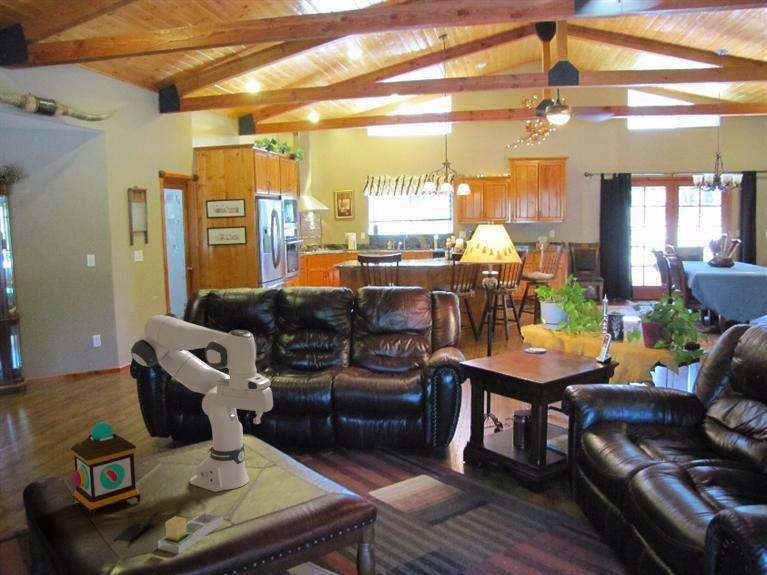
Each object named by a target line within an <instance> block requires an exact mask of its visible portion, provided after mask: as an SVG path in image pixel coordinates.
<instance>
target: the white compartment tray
mask: <svg viewBox="0 0 767 575" xmlns="http://www.w3.org/2000/svg"><path fill="white" fill-rule="evenodd" d="M223 523H224V515H221V514H217V513H213V512H208V511H202V512H201V513H199V514H197V515H196V516H194V517H193V518H191V519H190V520H188V521H186V531H187V537H186V538H185V539H183V540H182V541H180V542H179V543H175V542H170V541H166V535H164V536H163V537H161V538H160V539H159V540H158V541H157V549H158V550H162V551H164V552H169V553H174V554H177V555H179V554H182V552H184V551H185V550H186V549H189V548H190V547H191V546H192V545H193V544H195V543H197V542H199V540H201V539H202V538H204V537H206V535H208V534H209V533H211V532H213V531H214V530H215V529H216V528H218V527H219V526H221V525H222V524H223Z"/></svg>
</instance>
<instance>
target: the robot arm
mask: <svg viewBox="0 0 767 575" xmlns="http://www.w3.org/2000/svg"><path fill="white" fill-rule="evenodd" d="M143 329H144V330H143V331H144V333H143V334H142V335H141V336H140V338H139V339H138V340H137V341H135V342H134V343H133V345H132V347H131V350H130V355H131V356H132V357H133V359H134V361H135V362H136V363H138V364H139V365H141V366H143V367H146V368H147V367H149V368H151V367H153V366H154V365H156V364H157V363H158V364H159V365H160V367H162V369H163V370H164V371H166V372H167V374H169V375H170V376H171V377H172V378H174V379H175V380H176V381H178V382H179V383H181V384H182V385H183V386H185V387H186V388H187V389H189V390H190V391H192V392H195V393H201V394H203V395H204V396H203V398H202V401H201V408H202V410H203V412H204V414H205V415H207V417H208V419H209V422H210V426H211V430H212V446H211V447H210V448H209V449H207V453H209V456H208V457H207V458H205V459H204V460H203V461H201V463H200V464H198V465H197V468H196V474H195V475H194V476H192V477H191V479H190V480H189V483H190V485H193V486H197V487H200V488H202V489H205V490H208V491H210V492H215V493H217V492H221V491H226V490H228V491H229V490H234V489H237V488H240V487H243V486H245V485H247V483H249V481H250V479H249V476H248V472H247V467H246V463H245V456H246V455H245V444H244V440H243V439H244V436H243V432H244V431H243V424H242V423H241V421H239V418H238V414H237V409H238V410H243V411H245V410H246V411H251V412H254V411H255V415H256V417H254V418H253V424H254V425H259V424H261V418H262V416H263V414H264V413H267V412H269V411H271V410H272V409H273V407H274V399H273V398H274V397H273V391H272V388H270V386H271V383H272V382H271V380H270V379H269V378H267V377H266V376H263V375H261V374H260V373H258V372H257V371H258V370H257V366H256V360H257V351H258V349H257V348H258V346H257V343H256V341H255V338H254V335H253V333H252V332H250V331H248V330H245V329H234V330H231V331H229V332H225V331H222V330H219V329H213V328H210V327H205V326H201V325H197V324H194V323H191V322H188V321H185V320H183V319H181V318H180V317H179V315H176V314H174V313H171V312H167V313H165V314H163V315H162V314H155V315H152V316H151V317H149V318H148V319H147V320H146V322H145V323H144V328H143ZM204 348H205V350H204V351H205V353H204V355H205V359H206V362H207V363H206V362H204V361H203V360H201V359H200V358H199V357H197V356H196V355H195V354H193V353H192V352H190V351H192V350H197V349H204ZM225 368H227V369H228V374H227V373H225V372H222V371H219V370H217V369H225Z"/></svg>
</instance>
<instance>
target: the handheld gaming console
mask: <svg viewBox="0 0 767 575" xmlns="http://www.w3.org/2000/svg"><path fill="white" fill-rule="evenodd" d="M158 513H159V512H158V511H157V512H155V513H154V514H153V515H151V517H149V518H148V519H147V520H146V521H145V522H143V523H137V522H133V523H132V524H131V525H130V526H128V527H127V528H126V529H125V530H124V531H123V530H122V532H121V533H119V535H117V536H116V537H114V539H113V541H114V542H117V541H123V542H124V541H125V542H132V541H133V540H134V539H135V538H136V537H138V535H139V534H141V533H142V532H143V531H144V530H145V529H147V528H148V527H149V526H150V525H151V524H152V522H153V521H154V519H155V518H156V517H157V515H158Z"/></svg>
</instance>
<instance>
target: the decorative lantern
mask: <svg viewBox="0 0 767 575" xmlns="http://www.w3.org/2000/svg"><path fill="white" fill-rule="evenodd" d="M70 451H71V453H72V454H73V456H74V469H75V471H74V473H73V474H74V475H73V477H74V483H75V485H76V486H75V490H74V493H73V495H72V500H73V504H74V503H78V504H81V506H83V507H84V508H85V509H87V510H88V513H89V514H88V515H89V517H90V519H94V518H95V513H96V511H97V510H100V509H103V508H106V507H109V506H112V505H116V504H118V503H122V502H125V501H127V500H131V499H134V500H135V503H136V504H140V502H141V493H140V491H139V489H138V488H137V486H136V471H135V470H136V469H135V453H136V451H137V446H135V445H134V444H133V442H130V441H128V440H127V439H125V438H123V437H122V436H120V435H118V434H117V433H114V429H113V426H112V425H111V424H109V423H108V422H106V421H100V422H98V423H97V424H96V425H95V426H94V427H93V428H92V429H91V434H90V435H88V437H86V438H85V439H84V440H82V441H78V442H76V443H75V444H74V445H73V446H72V447H70Z"/></svg>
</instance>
